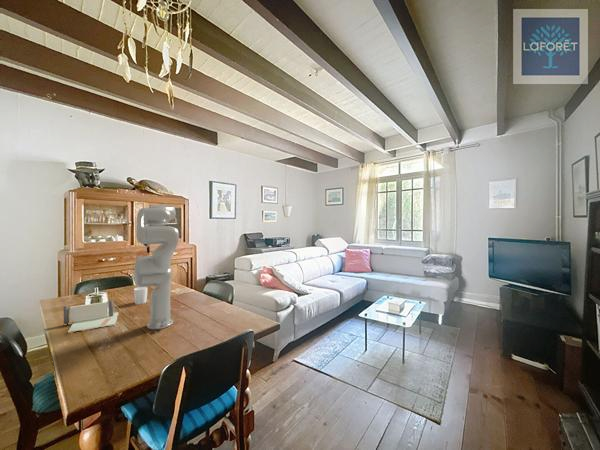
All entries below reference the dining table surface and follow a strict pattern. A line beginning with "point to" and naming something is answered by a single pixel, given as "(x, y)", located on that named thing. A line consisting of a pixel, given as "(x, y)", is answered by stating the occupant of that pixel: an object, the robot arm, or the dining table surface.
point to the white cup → (140, 295)
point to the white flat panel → (88, 311)
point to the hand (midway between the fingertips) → (157, 252)
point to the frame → (92, 320)
